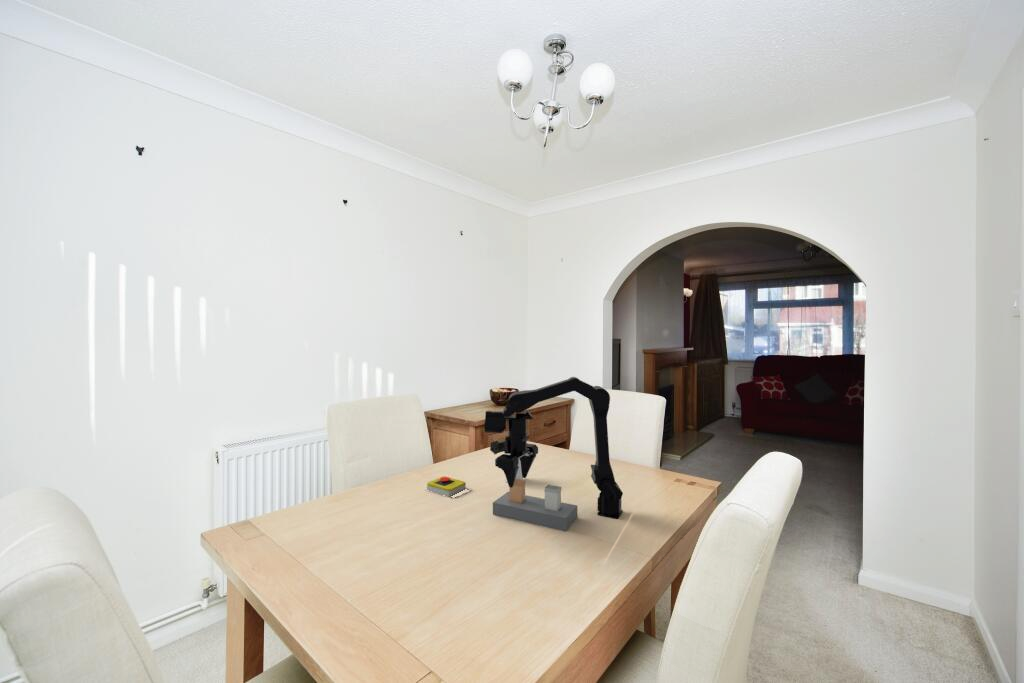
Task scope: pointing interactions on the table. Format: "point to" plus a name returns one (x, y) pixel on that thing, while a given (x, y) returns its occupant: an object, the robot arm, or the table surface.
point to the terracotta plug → (517, 491)
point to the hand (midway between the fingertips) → (517, 482)
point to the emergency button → (446, 486)
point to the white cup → (519, 472)
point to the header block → (536, 512)
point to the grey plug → (553, 497)
